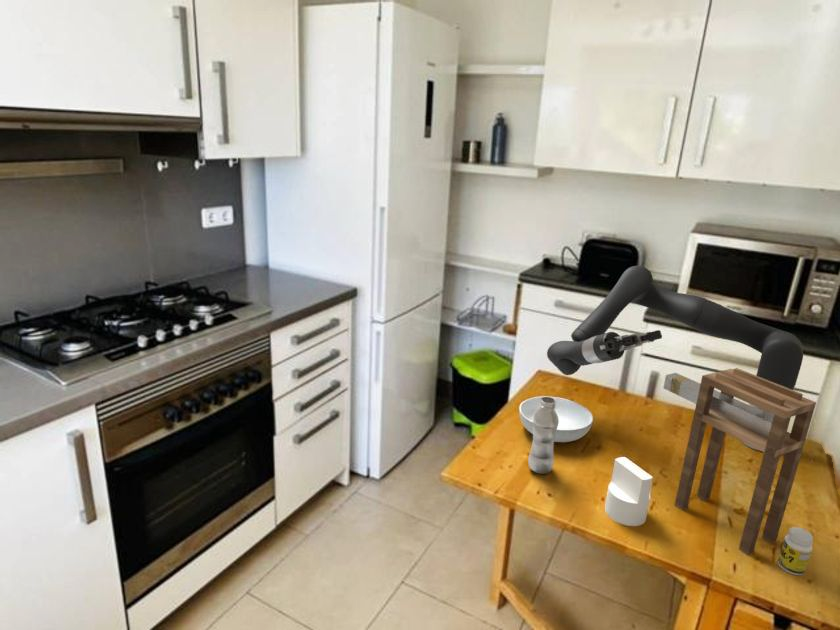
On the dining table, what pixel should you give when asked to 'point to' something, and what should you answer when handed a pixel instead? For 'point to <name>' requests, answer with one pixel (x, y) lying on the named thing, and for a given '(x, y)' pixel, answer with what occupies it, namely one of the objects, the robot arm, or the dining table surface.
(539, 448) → the plastic bottle
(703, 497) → the walnut shelf
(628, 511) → the base with upright slab
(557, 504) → the dining table surface
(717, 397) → the bar
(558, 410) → the serving bowl
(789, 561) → the supplement bottle
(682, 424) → the dining table surface
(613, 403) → the dining table surface
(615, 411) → the dining table surface
